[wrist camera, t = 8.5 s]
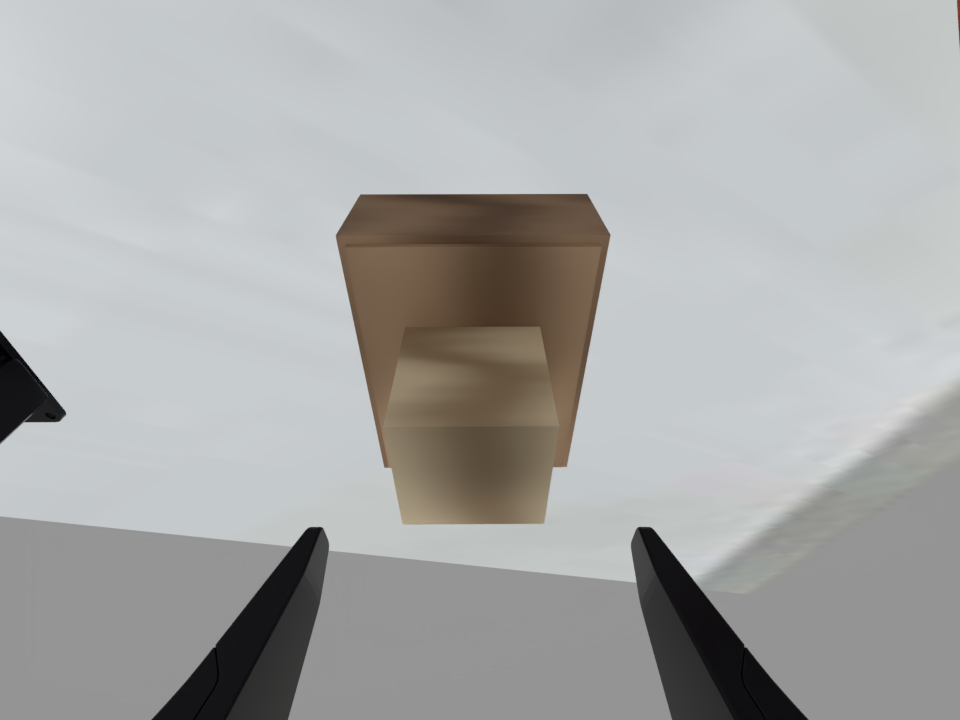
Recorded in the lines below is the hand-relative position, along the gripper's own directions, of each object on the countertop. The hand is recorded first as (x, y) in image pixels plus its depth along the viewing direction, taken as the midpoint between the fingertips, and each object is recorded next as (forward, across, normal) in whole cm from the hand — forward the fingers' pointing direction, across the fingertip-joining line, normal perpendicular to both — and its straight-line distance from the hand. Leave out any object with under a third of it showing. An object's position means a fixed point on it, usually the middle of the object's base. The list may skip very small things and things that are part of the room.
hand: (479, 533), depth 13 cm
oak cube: (+7, 0, 0) cm, 7 cm away
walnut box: (+11, 0, 0) cm, 11 cm away
